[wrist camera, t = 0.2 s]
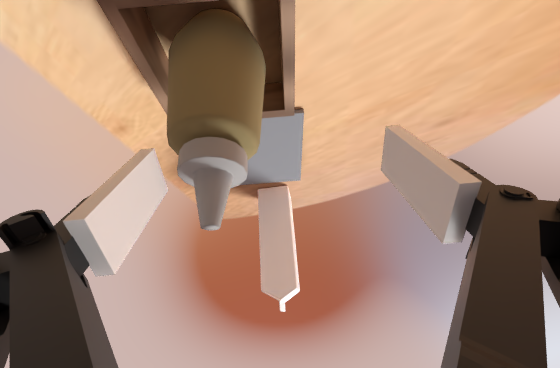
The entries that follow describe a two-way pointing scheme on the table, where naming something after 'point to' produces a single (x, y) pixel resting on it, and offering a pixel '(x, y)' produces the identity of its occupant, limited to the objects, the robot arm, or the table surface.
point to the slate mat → (278, 151)
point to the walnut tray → (154, 63)
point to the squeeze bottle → (214, 107)
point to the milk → (277, 244)
